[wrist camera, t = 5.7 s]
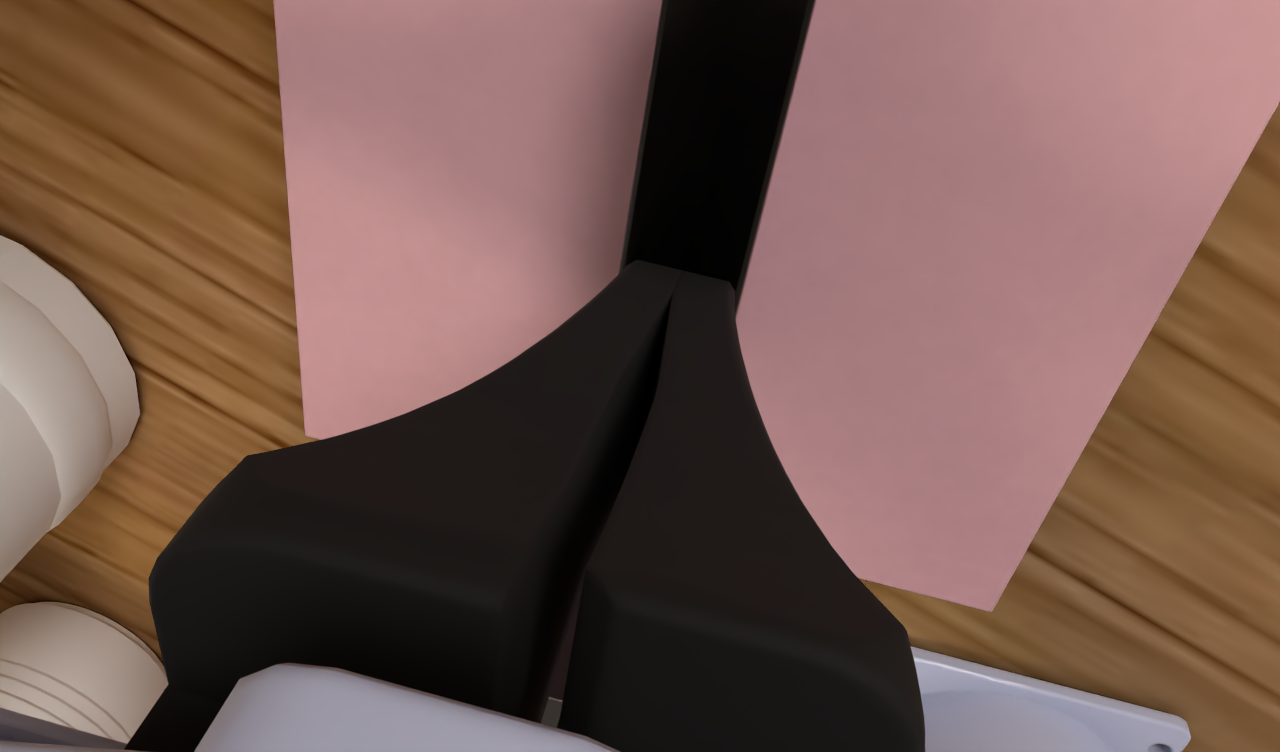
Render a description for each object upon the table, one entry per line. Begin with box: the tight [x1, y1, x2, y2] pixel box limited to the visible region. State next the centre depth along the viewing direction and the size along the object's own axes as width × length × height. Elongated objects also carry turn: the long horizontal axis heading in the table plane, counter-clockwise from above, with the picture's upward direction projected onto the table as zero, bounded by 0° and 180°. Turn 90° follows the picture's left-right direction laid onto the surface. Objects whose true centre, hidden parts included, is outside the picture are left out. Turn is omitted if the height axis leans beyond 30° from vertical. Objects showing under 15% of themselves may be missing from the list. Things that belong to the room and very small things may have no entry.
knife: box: [618, 0, 816, 317], centre depth 15 cm, size 14×2×4 cm, turn 172°
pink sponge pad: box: [273, 0, 1280, 612], centre depth 17 cm, size 13×14×3 cm
